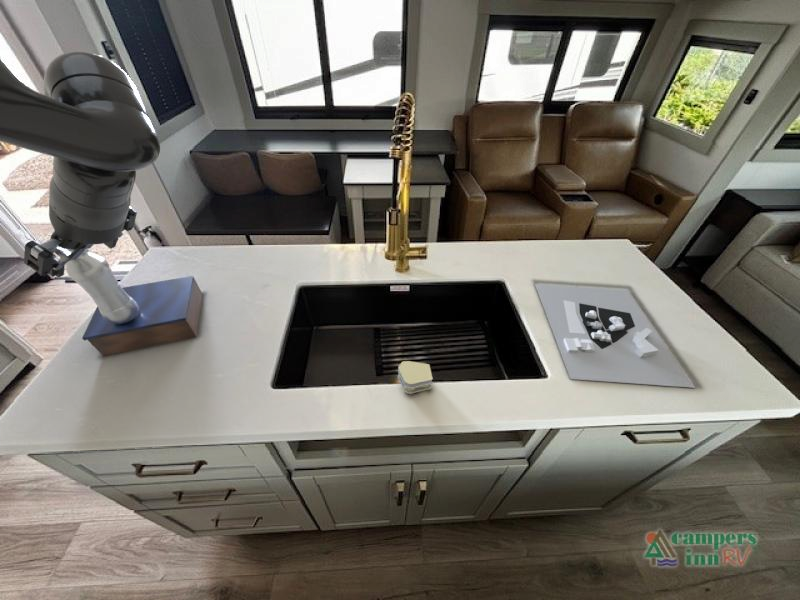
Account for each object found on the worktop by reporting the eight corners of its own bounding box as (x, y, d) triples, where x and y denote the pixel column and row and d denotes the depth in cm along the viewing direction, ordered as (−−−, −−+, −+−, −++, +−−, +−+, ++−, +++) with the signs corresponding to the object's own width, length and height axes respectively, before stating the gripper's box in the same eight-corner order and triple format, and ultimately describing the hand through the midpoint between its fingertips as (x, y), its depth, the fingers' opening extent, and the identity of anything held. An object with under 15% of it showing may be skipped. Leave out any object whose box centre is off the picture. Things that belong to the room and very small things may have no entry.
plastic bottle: (111, 312, 77) (52, 240, 63) (144, 305, 79) (94, 233, 66) (106, 331, 73) (42, 258, 59) (141, 322, 75) (87, 250, 61)
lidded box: (105, 358, 77) (87, 339, 72) (124, 311, 88) (109, 292, 83) (198, 339, 82) (186, 320, 77) (204, 296, 93) (194, 278, 89)
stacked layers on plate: (431, 367, 77) (433, 353, 74) (439, 401, 71) (442, 387, 67) (389, 371, 76) (389, 356, 73) (393, 405, 70) (394, 392, 66)
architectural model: (534, 284, 102) (536, 278, 100) (626, 290, 101) (630, 284, 99) (569, 379, 76) (573, 374, 74) (694, 388, 75) (701, 383, 74)
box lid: (84, 340, 72) (81, 338, 71) (106, 292, 83) (104, 290, 83) (186, 320, 77) (185, 317, 76) (194, 278, 89) (193, 275, 88)
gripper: (115, 162, 47) (102, 219, 57) (-4, 204, 37) (7, 264, 47) (161, 203, 49) (141, 251, 59) (62, 253, 39) (58, 300, 49)
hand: (82, 257), depth 53 cm, fingers open, 8 cm apart
